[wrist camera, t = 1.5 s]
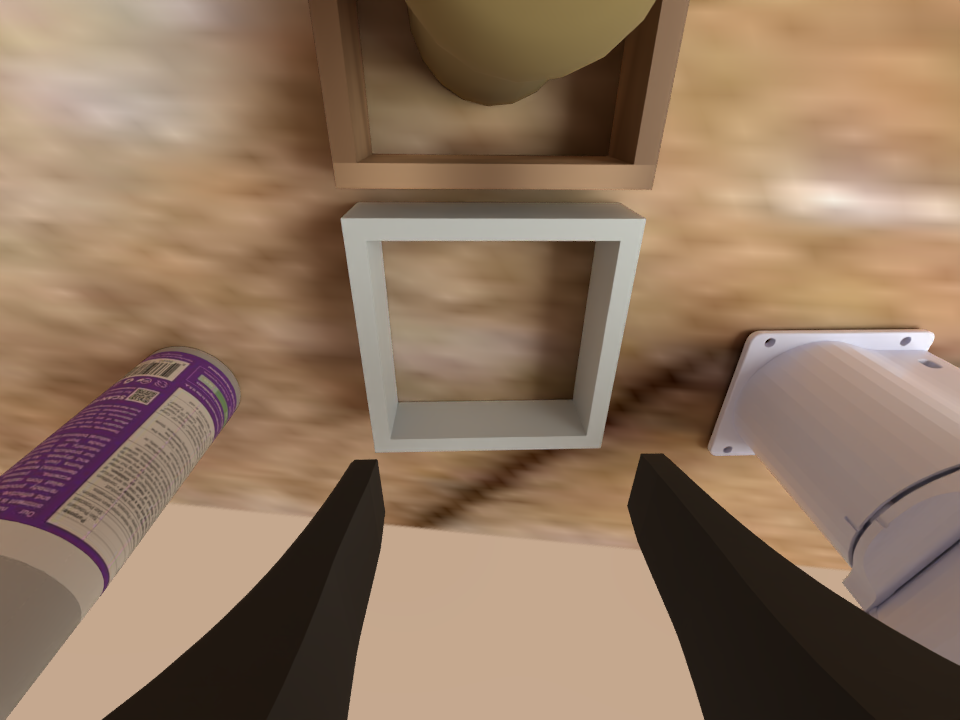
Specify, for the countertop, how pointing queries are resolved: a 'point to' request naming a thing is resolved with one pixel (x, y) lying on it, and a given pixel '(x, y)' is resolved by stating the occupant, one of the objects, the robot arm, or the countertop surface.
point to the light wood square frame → (623, 169)
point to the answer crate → (493, 419)
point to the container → (97, 500)
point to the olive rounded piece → (516, 41)
